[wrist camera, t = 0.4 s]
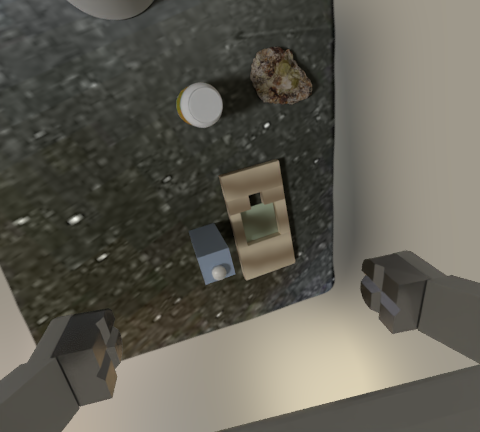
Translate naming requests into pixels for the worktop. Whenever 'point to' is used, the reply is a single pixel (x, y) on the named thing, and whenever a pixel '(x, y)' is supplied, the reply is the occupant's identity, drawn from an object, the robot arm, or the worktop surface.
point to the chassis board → (258, 218)
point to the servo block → (212, 253)
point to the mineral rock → (279, 77)
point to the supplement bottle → (199, 105)
